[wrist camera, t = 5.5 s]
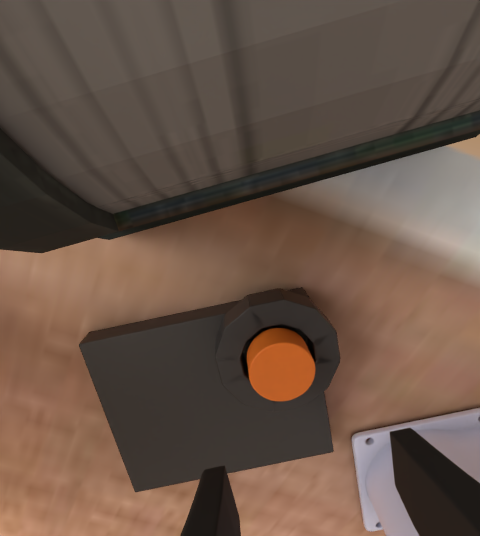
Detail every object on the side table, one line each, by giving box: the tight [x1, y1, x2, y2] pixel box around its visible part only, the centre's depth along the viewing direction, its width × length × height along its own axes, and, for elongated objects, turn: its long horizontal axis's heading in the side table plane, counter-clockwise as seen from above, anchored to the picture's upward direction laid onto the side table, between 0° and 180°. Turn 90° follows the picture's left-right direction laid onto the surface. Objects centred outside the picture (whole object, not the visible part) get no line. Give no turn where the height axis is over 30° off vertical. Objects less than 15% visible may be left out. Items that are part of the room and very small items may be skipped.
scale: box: [79, 287, 340, 492], centre depth 18 cm, size 13×11×3 cm
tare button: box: [247, 328, 315, 401], centre depth 16 cm, size 3×3×2 cm
